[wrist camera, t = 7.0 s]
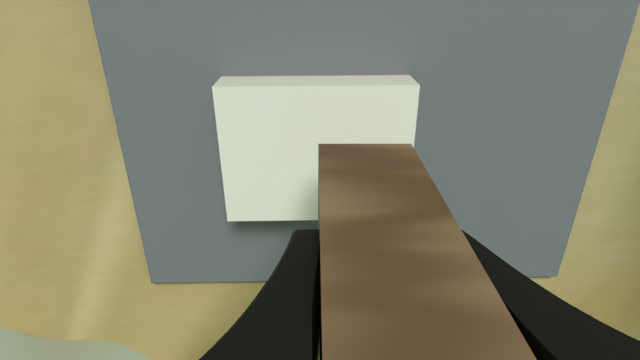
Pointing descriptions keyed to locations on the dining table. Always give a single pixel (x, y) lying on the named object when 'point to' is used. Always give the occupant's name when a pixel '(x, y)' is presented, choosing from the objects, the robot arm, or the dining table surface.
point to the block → (400, 266)
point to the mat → (366, 59)
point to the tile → (300, 134)
